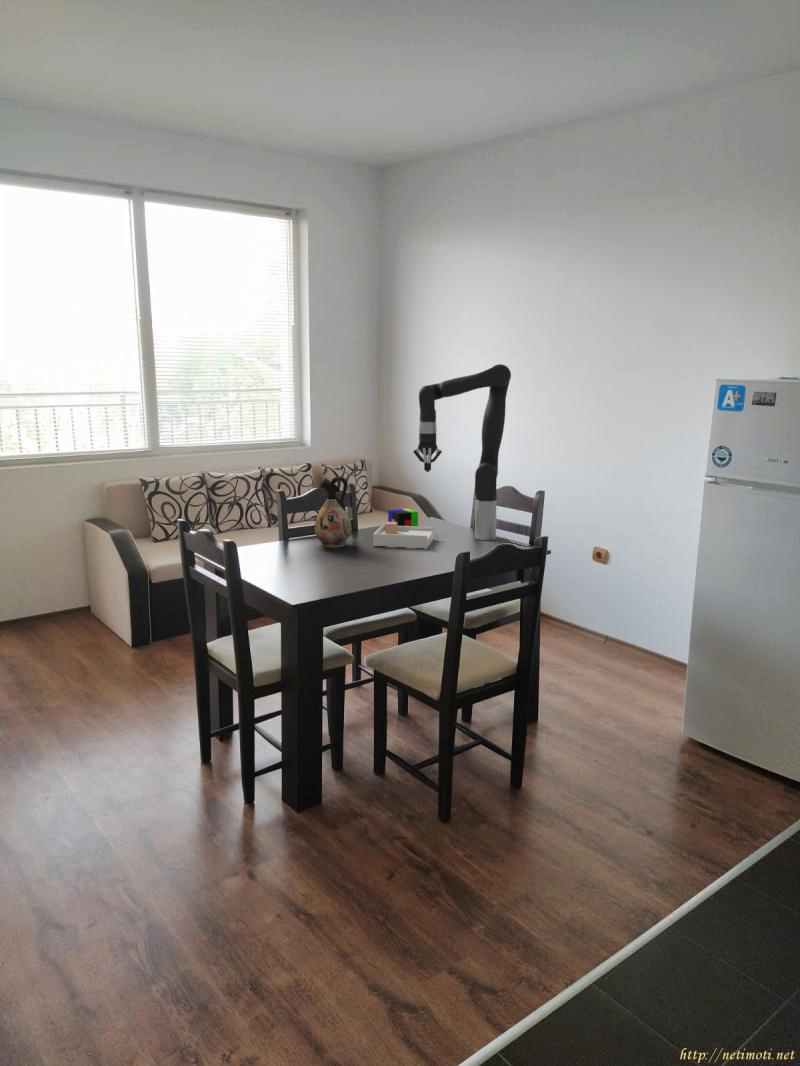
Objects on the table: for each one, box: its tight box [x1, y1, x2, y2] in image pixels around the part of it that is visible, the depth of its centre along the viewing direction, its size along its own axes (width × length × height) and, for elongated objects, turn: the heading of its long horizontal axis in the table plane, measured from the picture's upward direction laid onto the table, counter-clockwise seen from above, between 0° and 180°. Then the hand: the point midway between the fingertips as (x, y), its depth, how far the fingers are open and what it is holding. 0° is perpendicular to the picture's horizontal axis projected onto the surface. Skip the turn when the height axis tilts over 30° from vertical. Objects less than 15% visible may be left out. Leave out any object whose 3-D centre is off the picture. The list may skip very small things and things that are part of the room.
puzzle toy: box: [387, 508, 419, 527], centre depth 349 cm, size 10×10×10 cm
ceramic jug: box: [314, 475, 352, 549], centre depth 321 cm, size 17×15×30 cm
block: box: [384, 521, 397, 534], centre depth 329 cm, size 4×4×4 cm
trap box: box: [372, 524, 435, 550], centre depth 329 cm, size 23×18×6 cm
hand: (427, 471), depth 337 cm, fingers closed
